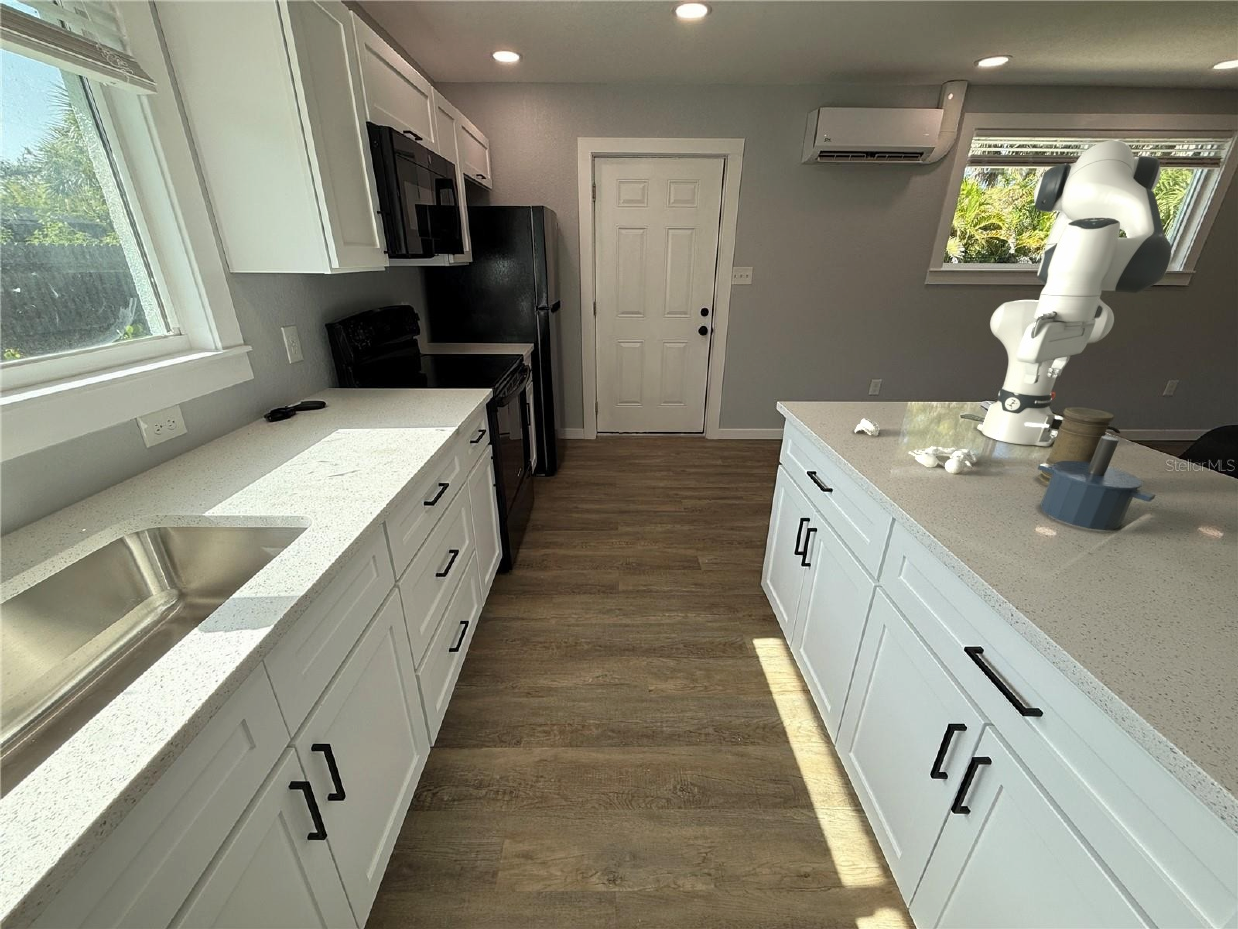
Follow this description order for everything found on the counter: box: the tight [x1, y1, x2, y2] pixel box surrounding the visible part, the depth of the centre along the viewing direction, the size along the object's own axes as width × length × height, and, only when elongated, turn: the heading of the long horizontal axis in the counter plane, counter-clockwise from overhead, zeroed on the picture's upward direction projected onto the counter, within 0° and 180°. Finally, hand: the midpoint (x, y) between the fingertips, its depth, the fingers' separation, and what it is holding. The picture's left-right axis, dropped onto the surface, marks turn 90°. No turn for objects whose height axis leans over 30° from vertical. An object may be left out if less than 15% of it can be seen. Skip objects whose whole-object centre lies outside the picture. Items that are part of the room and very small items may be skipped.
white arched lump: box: [854, 417, 880, 436], centre depth 151 cm, size 8×7×5 cm
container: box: [1037, 407, 1115, 485], centre depth 113 cm, size 9×9×18 cm
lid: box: [1052, 435, 1143, 490], centre depth 97 cm, size 13×13×9 cm
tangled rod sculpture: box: [908, 445, 977, 475], centre depth 129 cm, size 19×14×4 cm
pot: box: [1037, 462, 1156, 531], centre depth 100 cm, size 12×18×10 cm
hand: (1042, 379), depth 101 cm, fingers open, 8 cm apart
